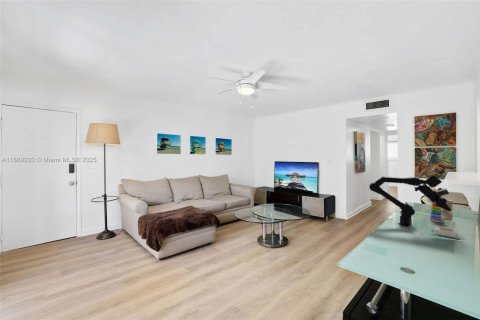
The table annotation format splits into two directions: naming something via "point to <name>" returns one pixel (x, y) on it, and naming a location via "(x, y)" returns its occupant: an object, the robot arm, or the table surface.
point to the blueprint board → (447, 232)
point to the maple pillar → (447, 212)
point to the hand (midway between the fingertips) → (449, 210)
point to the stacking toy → (436, 213)
